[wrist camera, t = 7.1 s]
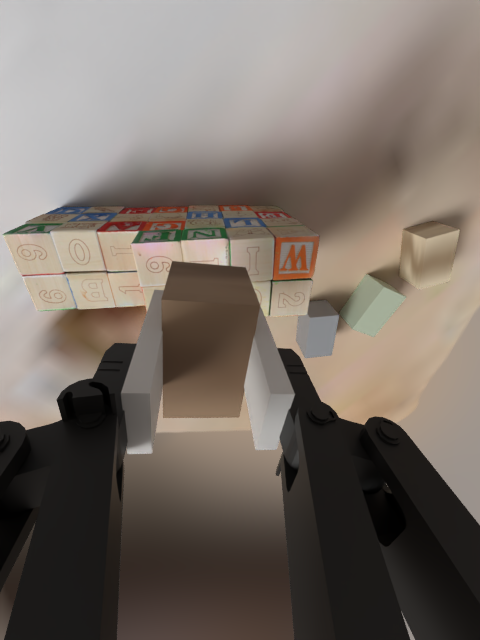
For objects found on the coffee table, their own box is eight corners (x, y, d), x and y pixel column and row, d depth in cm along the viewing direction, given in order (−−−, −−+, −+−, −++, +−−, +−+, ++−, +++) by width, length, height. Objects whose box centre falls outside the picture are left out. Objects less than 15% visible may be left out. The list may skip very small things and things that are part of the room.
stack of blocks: (78, 268, 29) (12, 333, 19) (58, 205, 26) (-35, 244, 16) (273, 262, 32) (309, 317, 21) (278, 204, 29) (323, 236, 18)
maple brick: (402, 229, 32) (426, 238, 28) (432, 220, 32) (459, 229, 28) (398, 275, 35) (419, 289, 32) (425, 268, 35) (449, 281, 31)
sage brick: (366, 273, 34) (384, 287, 31) (386, 282, 35) (406, 297, 32) (338, 312, 37) (352, 329, 33) (358, 320, 38) (373, 337, 34)
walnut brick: (172, 260, 13) (161, 299, 9) (245, 267, 13) (260, 306, 10) (171, 361, 16) (163, 417, 12) (231, 362, 16) (239, 417, 13)
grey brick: (299, 301, 35) (310, 317, 32) (325, 299, 35) (339, 315, 32) (295, 339, 38) (305, 358, 35) (320, 337, 39) (331, 355, 35)
